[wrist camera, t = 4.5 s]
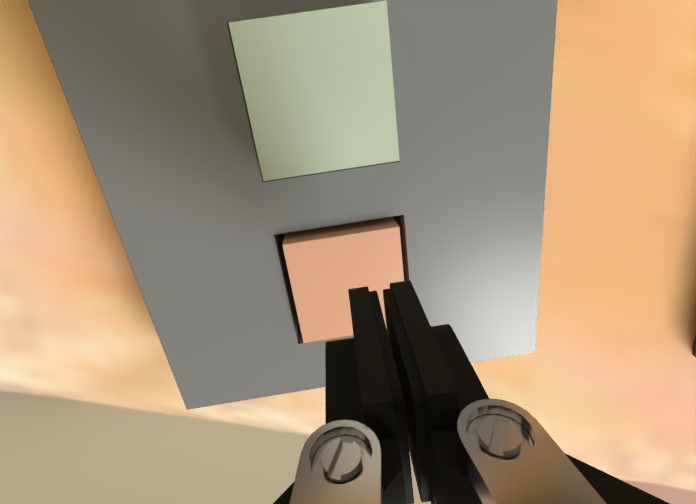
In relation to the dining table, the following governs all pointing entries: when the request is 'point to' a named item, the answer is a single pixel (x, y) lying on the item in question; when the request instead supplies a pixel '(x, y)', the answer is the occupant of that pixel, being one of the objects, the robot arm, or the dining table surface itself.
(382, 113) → the key sage
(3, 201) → the dining table surface
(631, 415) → the dining table surface
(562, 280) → the dining table surface
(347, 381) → the robot arm
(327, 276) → the key terracotta
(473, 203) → the keypad
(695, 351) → the button control box
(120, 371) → the dining table surface
